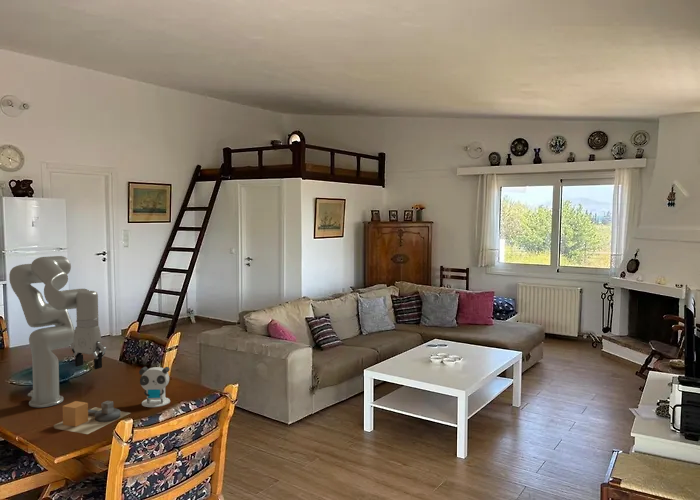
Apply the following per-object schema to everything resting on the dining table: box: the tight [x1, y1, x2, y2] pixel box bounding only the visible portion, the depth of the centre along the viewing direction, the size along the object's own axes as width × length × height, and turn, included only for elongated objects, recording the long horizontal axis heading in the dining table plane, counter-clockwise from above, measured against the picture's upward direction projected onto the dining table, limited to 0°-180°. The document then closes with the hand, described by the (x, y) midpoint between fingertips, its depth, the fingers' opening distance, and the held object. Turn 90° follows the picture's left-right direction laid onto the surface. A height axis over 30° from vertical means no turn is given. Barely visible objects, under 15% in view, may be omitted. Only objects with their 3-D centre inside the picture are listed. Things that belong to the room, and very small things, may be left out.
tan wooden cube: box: [62, 400, 89, 427], centre depth 200 cm, size 6×6×7 cm
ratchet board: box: [53, 400, 131, 435], centre depth 203 cm, size 18×22×8 cm
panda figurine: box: [138, 366, 171, 408], centre depth 225 cm, size 12×11×15 cm
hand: (88, 367), depth 205 cm, fingers open, 9 cm apart
